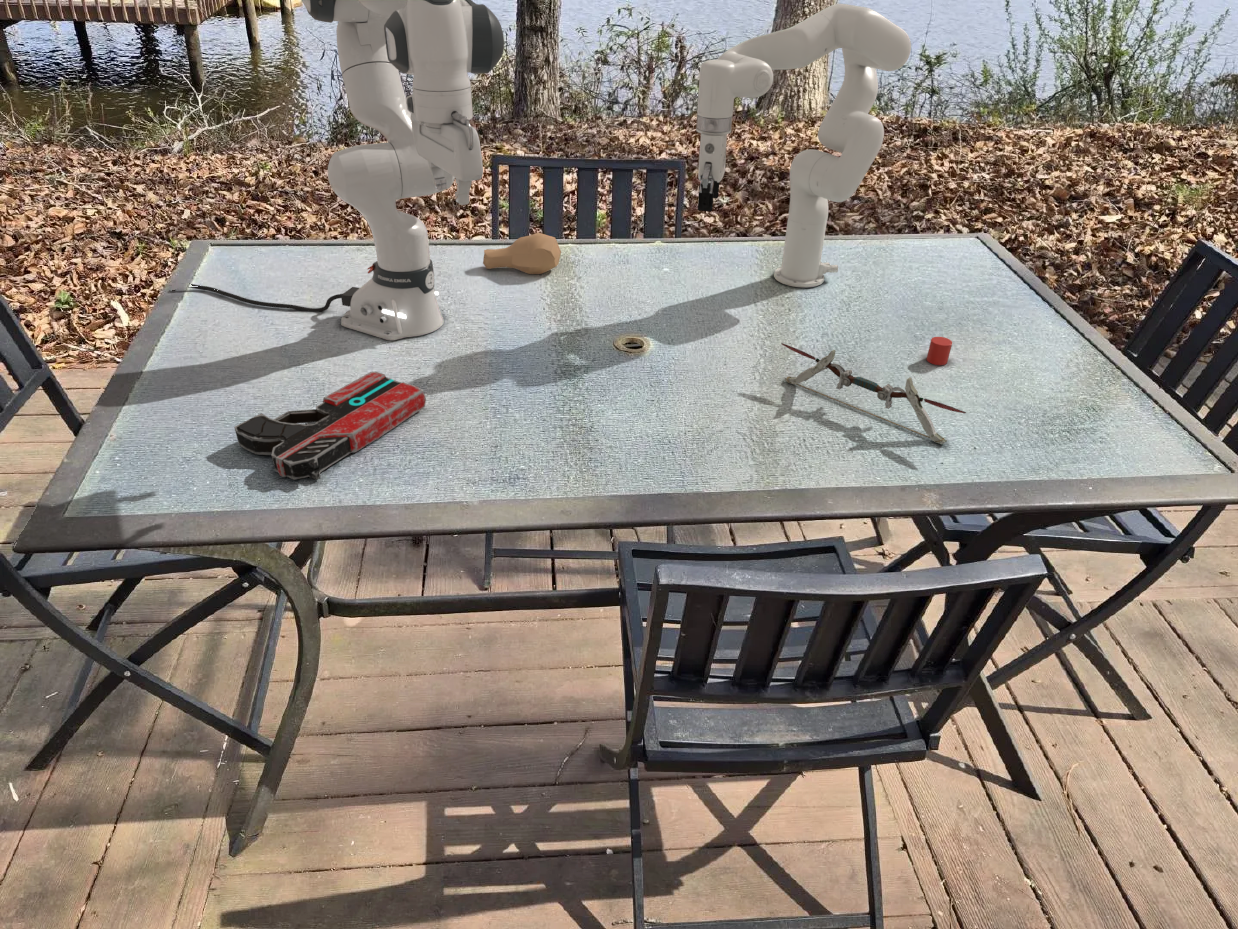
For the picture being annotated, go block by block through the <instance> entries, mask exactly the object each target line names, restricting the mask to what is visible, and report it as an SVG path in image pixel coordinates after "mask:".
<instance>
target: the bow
mask: <svg viewBox="0 0 1238 929" xmlns="http://www.w3.org/2000/svg"><path fill="white" fill-rule="evenodd" d="M780 345H782V346H784V347H785V348H787V349H789V350H790V351H793V352H794V353H796V354H799V355H801V356H803V357H805V358H808V359H810V360H813V361H815V363H816V364H815V365H812V366H810V367H809V368H807V369H805V370H803V371H802V372H800V373H799V374H798V375H797V376H787V377H784V381H785V382H786V383H788V384H790V385H797V386H799V387H802V388H804V389H806V390H809V391H811V392H814V393H816V394H819V395H821V396H824V397H826V398H828V399H831V400H834V401H836V402H839V403H840V404H844V405H846V406H849V407H851V408H853V409H856V410H859V411H860V412H862V413H866V414H868V415H871V416H874V417H876V418H879V419H881V420H884V421H886V422H888V423H891V424H893V425H896V426H898V427H900V428H904V429H906V430H907V431H911V432H914V433H915V434H919V435H921V436H923V437H925V438H928V439H930V440H931V441H933V442H934V443H937V444H940V445H945V443H947V441H948V440H947V439H946V438H945V437H944V436H942V435H941V434H939V433H938V432H936V428H935V426H934V423H933V421H932V419H931V417H930V416H929V414H928V412H927V411H926V409H925V408H924V406H923V404H922V402H923V401H924V402H925V403H927V404H929V405H932V406H935V407H937V408H940V409H944V410H947V411H951V412H955V413H960V414H967V412H966V411H964V410H961V409H958V408H956V407H953V406H951V405H948V404H945V403H942V402H939V401H935V400H932V399H929V398H923V397H920V395H919V392H918V390H917V388H916V387H915V385H914V381H913V379H912V377H908V378H907V379H906V382H905V387H904V389H903V388H902V387H900V386H895V387H893V386H892V385H891V384H890V383H887V384H886V385H885V386H883V387H882V386H880V385H879V384H878V383H877V382H875V381H873V380H870V379H868V378H864V377H862V376H853V375H852V374H853V370H852V369H846V370H845V368H844V367H843V366H842V365H841V364H838V363H835V362H833V361H834V360H835V356H836V349H832V350H831V351H830V352H829V353H828V354H827V355H826V356H823V357H822V358H821V359H820V358H818V357H815V355H814V356H813V355H812V354H810V353H808V352H805V351H803V350H801V349H798V348H796V347H793V346H791V345H788V344H786V343H783V342H781V343H780ZM832 362H833V363H832ZM827 369H829V370H830V371H831V372H832V373H833V374H834V375H835V376H837V378H839V380H838V382H837V384H836V390H839V391H840V390H841V389H843V388H844V387H846V388H849V387H850V386H852V384H853V385H855V386H858V387H859V388H863V389H865V390H868V391H870V392H873V393H877V395H876V396H877V399H879V400H880V401H884V402H885V403H884V405H885V406H884V408H885V409H887V410H889V409H891V408H892V407H893V405H892V404H893V400H892V399H902V398H903V399H904V398H905V399H906V400H907V401H908V403H909V404H910V406H911V407H912V409H913V411H914V412H915V415H916V417H917V419H918V421H919V423H920V424H921V427H922V429H923V430H924V433H925V434H926V435H925V434H924V433H921V432H918V431H916V430H913V429H911V428H908V427H905V426H904V425H901V424H898V423H896V422H893V421H890V420H889V419H887V418H884V417H881V416H879V415H876V414H873V413H871V412H869V411H866V410H863V409H861V408H858V407H856V406H854V405H851V404H849V403H846V402H844V401H842V400H839V399H836V398H834V397H831V396H830V395H826V394H824V393H822V392H819V391H817V390H814V389H812V388H809V387H806V386H804V385H801V384H802V383H803V382H807V381H808V380H810V379H811V378H812V377H813V376H815V375H817V374H819V373H821V372H823V371H825V370H827Z"/></svg>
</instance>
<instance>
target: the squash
mask: <svg viewBox="0 0 1238 929" xmlns="http://www.w3.org/2000/svg"><path fill="white" fill-rule="evenodd" d="M561 255H562V250H561V248H560V245H559V243H558V241H557V239H556V237H555V236H551V235H548V234H544V233H541V232H535V233H532V234H530V235H526V236H521V237H518V238H517V239H516V240H515V241H513V243H512V244H510V245H508V246H507V247H502V248H494V249H493V248H489V249H488V248H487V249H484V250H483V258H482V264H483V265H484V267H485V269H486V270H490V269H497V268H500V269H501V268H510V269H516V270H518V271H520V272H521V273H525V274H528V275H542V274H544V273H547V272H548V271H551V270H552V269H555V268H556V267H557V266H559V264H560V259H561Z"/></svg>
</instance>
